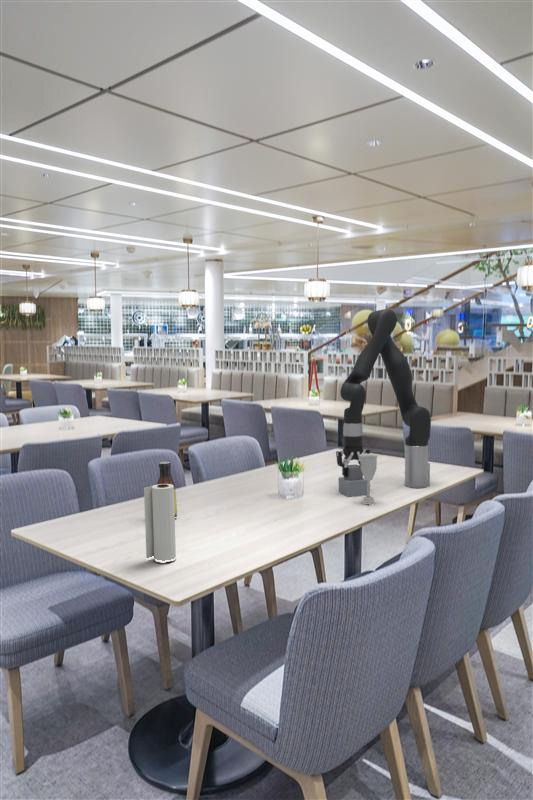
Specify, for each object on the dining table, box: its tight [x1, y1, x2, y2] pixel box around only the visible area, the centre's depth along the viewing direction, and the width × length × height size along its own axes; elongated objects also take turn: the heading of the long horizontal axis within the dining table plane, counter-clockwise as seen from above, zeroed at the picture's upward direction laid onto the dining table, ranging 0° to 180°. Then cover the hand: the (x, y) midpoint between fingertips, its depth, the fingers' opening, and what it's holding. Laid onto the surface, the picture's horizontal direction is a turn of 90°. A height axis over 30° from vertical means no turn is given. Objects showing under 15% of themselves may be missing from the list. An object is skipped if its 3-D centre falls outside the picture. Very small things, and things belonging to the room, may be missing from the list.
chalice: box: [359, 453, 378, 506], centre depth 230 cm, size 7×7×18 cm
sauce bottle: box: [156, 461, 178, 518], centre depth 213 cm, size 7×6×20 cm
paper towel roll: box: [143, 484, 177, 561], centre depth 173 cm, size 7×6×21 cm
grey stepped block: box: [338, 464, 367, 498], centre depth 245 cm, size 9×9×11 cm
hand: (353, 475), depth 245 cm, fingers open, 6 cm apart
